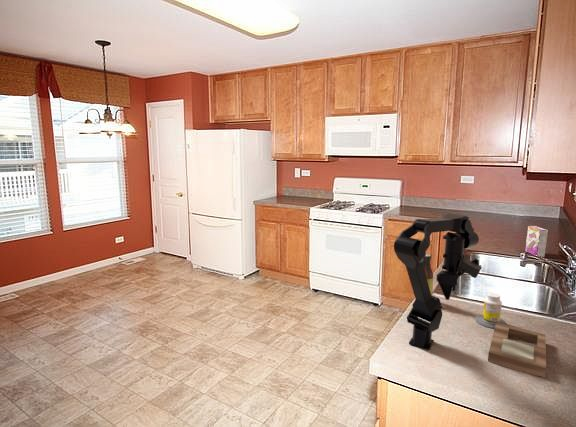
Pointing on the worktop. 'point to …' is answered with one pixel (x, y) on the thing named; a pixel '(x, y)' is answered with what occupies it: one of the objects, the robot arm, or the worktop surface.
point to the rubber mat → (480, 320)
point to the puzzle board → (518, 350)
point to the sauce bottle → (428, 271)
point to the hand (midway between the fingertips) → (450, 294)
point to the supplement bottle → (492, 308)
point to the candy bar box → (536, 240)
